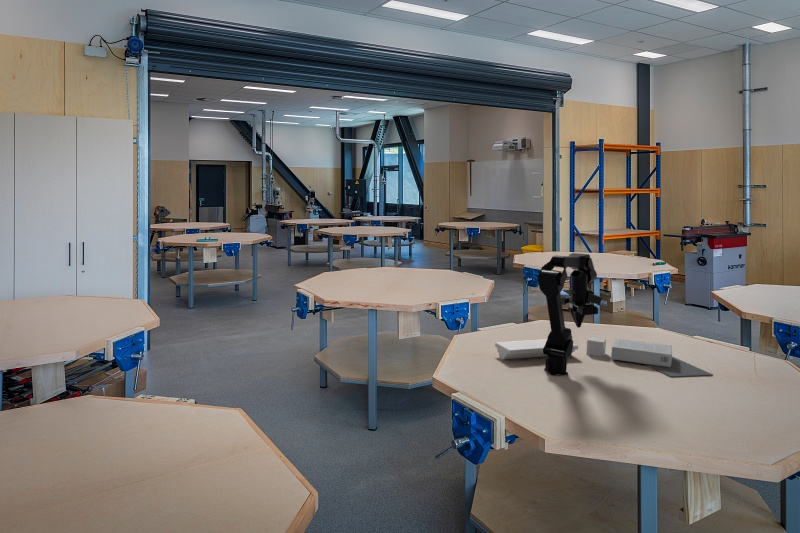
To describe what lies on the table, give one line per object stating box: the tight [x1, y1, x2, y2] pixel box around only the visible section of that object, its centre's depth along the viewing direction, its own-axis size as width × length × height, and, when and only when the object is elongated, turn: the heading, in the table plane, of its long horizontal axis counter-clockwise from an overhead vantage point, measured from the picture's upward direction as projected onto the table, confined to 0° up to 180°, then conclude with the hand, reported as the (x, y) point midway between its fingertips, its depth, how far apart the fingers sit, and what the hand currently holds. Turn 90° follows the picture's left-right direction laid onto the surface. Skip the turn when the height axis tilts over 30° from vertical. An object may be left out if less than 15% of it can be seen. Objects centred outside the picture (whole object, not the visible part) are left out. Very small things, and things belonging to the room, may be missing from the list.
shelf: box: [494, 338, 579, 361], centre depth 222 cm, size 12×30×5 cm, turn 108°
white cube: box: [585, 336, 607, 358], centre depth 227 cm, size 6×6×6 cm
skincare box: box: [610, 338, 673, 367], centre depth 220 cm, size 21×5×16 cm
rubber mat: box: [644, 356, 714, 378], centre depth 213 cm, size 17×25×1 cm
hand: (578, 327), depth 214 cm, fingers closed
